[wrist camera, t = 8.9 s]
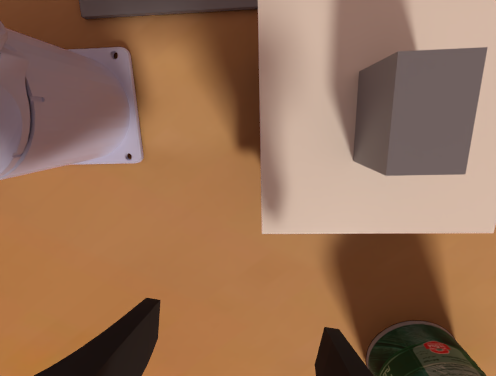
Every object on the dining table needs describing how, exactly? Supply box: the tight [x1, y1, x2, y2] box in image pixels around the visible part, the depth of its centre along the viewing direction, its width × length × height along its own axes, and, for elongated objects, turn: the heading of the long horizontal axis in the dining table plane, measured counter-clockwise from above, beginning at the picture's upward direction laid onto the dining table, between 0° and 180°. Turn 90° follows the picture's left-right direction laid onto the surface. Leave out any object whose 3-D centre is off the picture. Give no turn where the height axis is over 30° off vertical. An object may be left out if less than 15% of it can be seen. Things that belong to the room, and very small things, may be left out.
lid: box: [258, 0, 496, 234], centre depth 12 cm, size 13×13×5 cm
